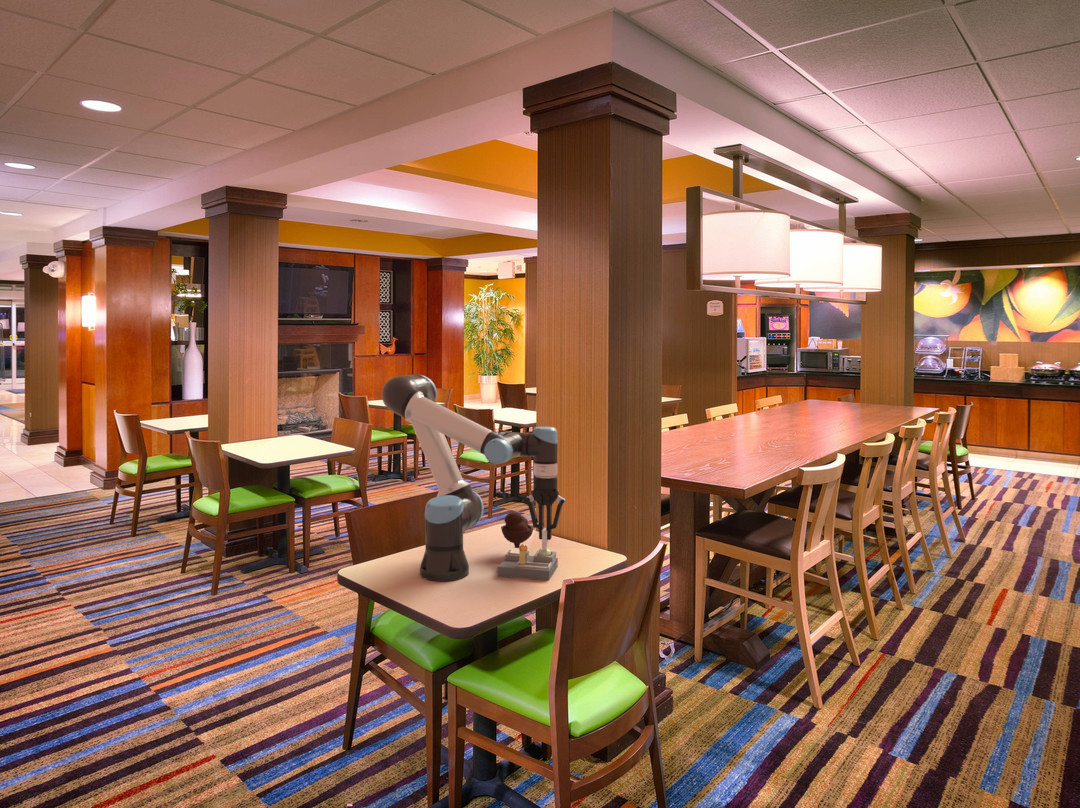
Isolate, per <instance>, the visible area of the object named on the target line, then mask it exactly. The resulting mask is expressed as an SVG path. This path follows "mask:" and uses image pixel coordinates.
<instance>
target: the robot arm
mask: <svg viewBox="0 0 1080 808" xmlns="http://www.w3.org/2000/svg"><path fill="white" fill-rule="evenodd" d="M437 392H438V391H437V387H436V384H435V383H434V382H433V380H432V379H430V378H429V377H427V376H425V375H422V374H416V373H415V374H413V373H412V374H409V375H408V374H407V375H395V376H393V377H391V378H389V379H388V380H387V381H386V382H385V383H384V385H383V387H382V389H381V399H382V402H383V404H384V406H385V407H386V408H387V410H390V412H392V413H394V414H396V415H397V416H400V417H402V418H404V420H405V421H406V422H407V423H410V424H411V425H412V429H413V430H414V432H415V435H416V438H417V440H418V443H419V445H420V447H421V450H422V452H423V453H422V454H424V457H425V460H426V462H427V465H428V467H429V470H430V472H431V475H432V477H433V480H434V481H435V483H436V487H437V489H438V493H437V494H436V496H435V497H433V498H430V499H429V500H428V501H427V502H426V504H425V506H424V507H425V510H424V528H425V529H424V533H425V537H424V538H425V540H424V541H425V551H424V553H423V557H422V560H421V563H420V566H419V575H420V577H421V578H422V579H425V580H428V581H433V582H448V581H449V582H450V581H455V580H456V581H457V580H460V579H463V578H465V577H466V576H468V575H469V574H470V564H469V562H468V559H467V555H466V553H465V550H464V532H465V531H466V530H469V529H470V528H472V527H474V526H475V525H476V524H477V523H478V522H479V521H480V520H481V519H482V517H483V515H484V509H485V507H484V502H483V499H482V497H481V496H480V494H479V493H477V492H475V491H473V489H472V486H471V484H470V482H467V481H465V480H464V478H463V477H462V474H461V471H460V469H459V467H458V464H457V462H456V459H455V457H454V455H453V452H452V449H451V448H450V445H449V443H448V440H447V438H446V436H447V437H448V438H450V439H453V440H455V441H456V442H458V443H459V444H462V445H464V446H465V447H468V448H470V449H472V450H473V451H476V452H478V453H480V454H482V455H484V456H485V459H486V460H487V461H488V462H489V463H491V464H493V465H500V464H501V465H502V464H506V463H507V462H508V461H510V460H512V459H514V458H516V457H530V458H531V457H532V458H533V475H534V477H533V490H532V492H531V494H530V495H527V496H526V497H525V499H524V500H525V502H526V504H527V505H528V510H529V514H530V518H531V522H532V527H533V528H536V529H538V538H539V540H541V549H542V551H547V550H548V549H549V541H551V540H552V538H553V537H552V530H553V529H556V528H557V527H558V526H559V525H558V524H559V521H560V516H561V512H562V510H563V509H562V508H563V506H564V504H565V502H566V500H567V499H566V497H562V496H560V493H559V491H558V477H557V475H558V450H559V449H558V444H559V441H558V440H559V439H558V429H556V428H555V427H554V426H536V427H534V428H533V431H532V432H514V431H501V432H499V433H497V432H495V431H493V430H491V429H489V428H487V427H485V426H484V425H481V424H479V423H477V422H475V421H473V420H471V419H470V418H467V417H465V416H463V415H461V414H460V413H457V412H455V411H454V410H451V409H449V408H447V407H446V406H443V405H441V404H439V403H438V402H437V401H436V399H437V396H438V395H437V394H438V393H437ZM534 500H535V502H536V503H537V505H538V507H537V508H538V515H537V512H536V507H535V503H534ZM556 501H557V506H556V510H555V514H554V518H553V504H554V503H555V502H556ZM545 507H546V508H545ZM545 509H546V527H545Z"/></svg>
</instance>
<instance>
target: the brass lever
mask: <svg viewBox="0 0 1080 808" xmlns="http://www.w3.org/2000/svg"><path fill="white" fill-rule="evenodd" d="M519 550H520V551H519V565H526V564H527V551H528V546H527V545H526V544H523V543H521V544H520V547H519Z"/></svg>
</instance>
